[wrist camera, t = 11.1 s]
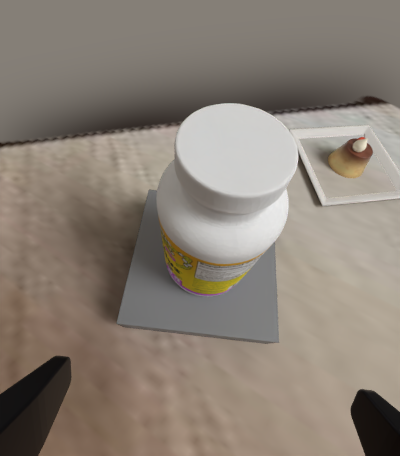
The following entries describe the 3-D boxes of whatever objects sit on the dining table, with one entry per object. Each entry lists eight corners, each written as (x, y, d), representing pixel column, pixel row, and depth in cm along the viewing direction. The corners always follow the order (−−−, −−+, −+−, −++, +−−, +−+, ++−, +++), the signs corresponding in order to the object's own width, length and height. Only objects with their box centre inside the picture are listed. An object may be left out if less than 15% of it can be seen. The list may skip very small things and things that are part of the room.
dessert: (363, 131, 35) (389, 100, 30) (408, 201, 30) (447, 176, 25) (285, 135, 33) (300, 103, 29) (317, 211, 28) (342, 185, 24)
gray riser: (266, 343, 21) (278, 342, 18) (124, 327, 20) (116, 323, 18) (263, 220, 26) (273, 205, 23) (152, 206, 26) (148, 189, 23)
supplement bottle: (165, 224, 22) (150, 82, 10) (238, 222, 22) (301, 87, 11) (165, 301, 19) (142, 223, 7) (249, 297, 19) (351, 219, 8)
